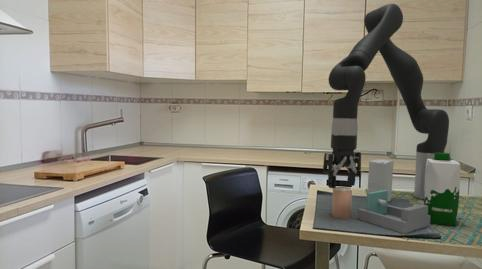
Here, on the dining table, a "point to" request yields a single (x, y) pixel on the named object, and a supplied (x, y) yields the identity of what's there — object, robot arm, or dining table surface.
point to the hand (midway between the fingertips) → (341, 186)
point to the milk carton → (442, 189)
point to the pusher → (377, 201)
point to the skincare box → (380, 176)
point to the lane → (398, 218)
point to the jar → (342, 202)
